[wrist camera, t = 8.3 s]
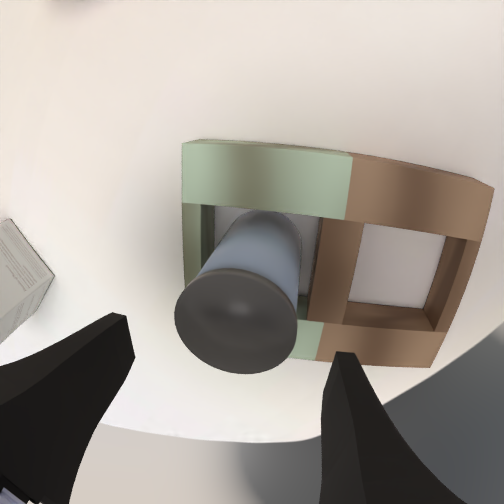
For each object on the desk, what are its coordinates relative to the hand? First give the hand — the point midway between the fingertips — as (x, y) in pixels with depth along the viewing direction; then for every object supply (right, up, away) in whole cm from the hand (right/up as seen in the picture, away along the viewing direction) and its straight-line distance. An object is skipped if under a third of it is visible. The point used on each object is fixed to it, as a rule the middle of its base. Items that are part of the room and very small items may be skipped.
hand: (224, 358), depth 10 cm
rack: (+6, +3, +8) cm, 10 cm away
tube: (+2, +4, +8) cm, 9 cm away
